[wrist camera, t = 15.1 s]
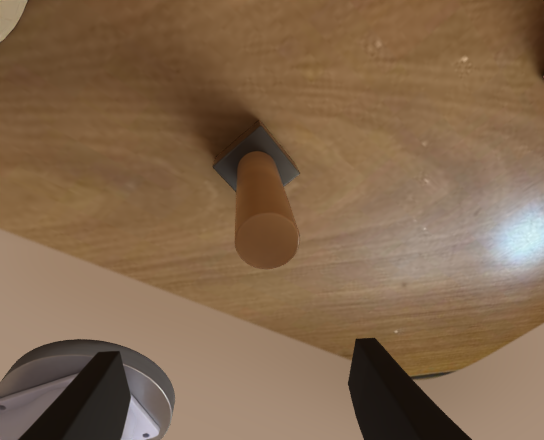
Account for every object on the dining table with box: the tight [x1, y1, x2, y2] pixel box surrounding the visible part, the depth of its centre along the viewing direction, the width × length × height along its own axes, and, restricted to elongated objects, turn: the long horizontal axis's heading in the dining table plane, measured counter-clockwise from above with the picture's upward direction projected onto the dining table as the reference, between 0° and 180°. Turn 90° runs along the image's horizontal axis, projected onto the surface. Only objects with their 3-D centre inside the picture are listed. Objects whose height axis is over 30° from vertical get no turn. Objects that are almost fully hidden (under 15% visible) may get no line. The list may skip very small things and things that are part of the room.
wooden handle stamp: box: [213, 120, 300, 269], centre depth 14 cm, size 3×3×9 cm
